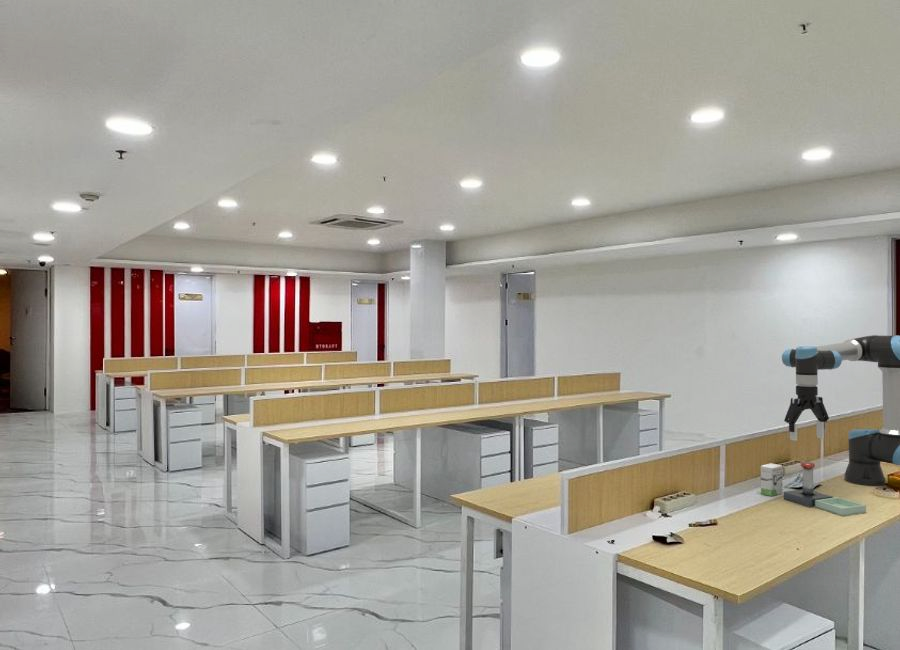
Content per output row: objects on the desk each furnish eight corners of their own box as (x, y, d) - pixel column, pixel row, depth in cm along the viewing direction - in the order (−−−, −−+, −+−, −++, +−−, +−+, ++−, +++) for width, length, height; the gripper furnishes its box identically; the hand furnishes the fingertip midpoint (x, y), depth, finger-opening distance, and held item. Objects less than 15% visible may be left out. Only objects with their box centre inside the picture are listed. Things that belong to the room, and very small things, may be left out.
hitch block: (806, 496, 256) (806, 488, 256) (833, 504, 245) (832, 496, 245) (783, 499, 253) (783, 491, 253) (809, 507, 241) (809, 499, 241)
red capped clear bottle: (807, 499, 252) (807, 461, 252) (817, 502, 247) (817, 464, 247) (798, 500, 250) (797, 462, 250) (808, 504, 246) (808, 465, 246)
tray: (838, 504, 245) (838, 497, 245) (866, 512, 234) (866, 505, 234) (815, 507, 241) (815, 500, 241) (842, 516, 230) (842, 508, 230)
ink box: (772, 496, 256) (771, 467, 256) (760, 494, 261) (760, 465, 260) (783, 493, 261) (782, 465, 261) (771, 490, 265) (771, 462, 265)
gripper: (822, 383, 256) (822, 435, 256) (774, 385, 248) (774, 439, 248) (839, 384, 249) (839, 438, 249) (789, 387, 241) (790, 442, 241)
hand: (807, 439), depth 249 cm, fingers open, 13 cm apart
